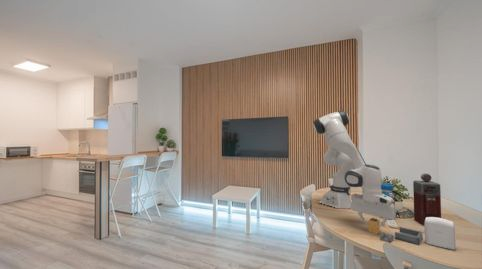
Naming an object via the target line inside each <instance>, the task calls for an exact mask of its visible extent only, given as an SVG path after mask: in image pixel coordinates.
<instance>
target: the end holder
mask: <svg viewBox="0 0 482 269" xmlns="http://www.w3.org/2000/svg"><path fill="white" fill-rule="evenodd" d="M423 235H424V234H423V231H420V230H416V229H412V228H407V227H402V226H399V232H398V231H395V232H394V236H395V237H394V238H395V240H398V241H401V242H402V241H403V242H406V243H408V244H409V243H410V244H412V245H413V244H414V245H417V246H420V244H421V243H422V241H423V238H424V237H423Z"/></svg>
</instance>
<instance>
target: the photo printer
mask: <svg viewBox="0 0 482 269" xmlns="http://www.w3.org/2000/svg"><path fill="white" fill-rule="evenodd" d="M424 224H425V226H424V242H425V243H426V244H427V245H430V246H431V245H432V246H434V247H439V248H444V249H449V250H453V251H454V250H456V249H457V244H456V243H457V242H456V240H457V239H456V227H455V224H454V222H453V221H452V220H449V219H445V218H442V217H441V218H438V217H426V219H425V222H424Z"/></svg>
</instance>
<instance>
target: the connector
mask: <svg viewBox="0 0 482 269" xmlns="http://www.w3.org/2000/svg"><path fill="white" fill-rule="evenodd" d="M380 226H381V220H380V219H378V218H375V217H370V218H369V219H368V232H369V233H372V234H374V235H375V234H376V235H378V234H379V233H380V232H381V227H380Z"/></svg>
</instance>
